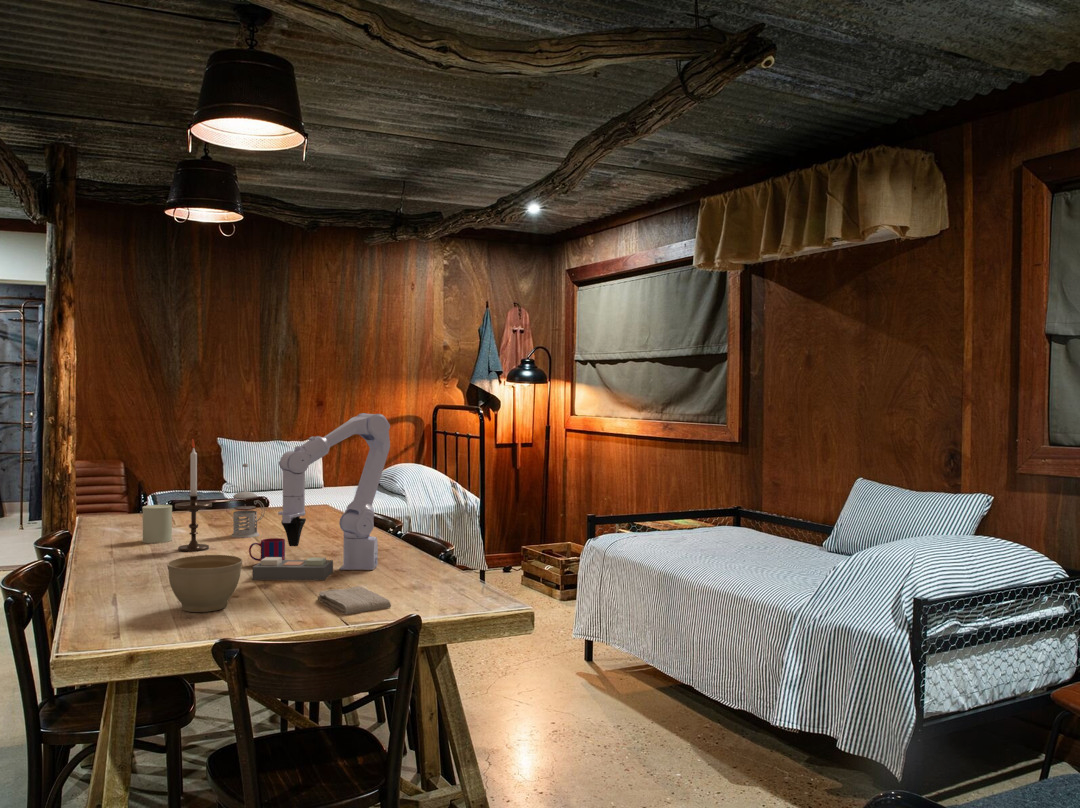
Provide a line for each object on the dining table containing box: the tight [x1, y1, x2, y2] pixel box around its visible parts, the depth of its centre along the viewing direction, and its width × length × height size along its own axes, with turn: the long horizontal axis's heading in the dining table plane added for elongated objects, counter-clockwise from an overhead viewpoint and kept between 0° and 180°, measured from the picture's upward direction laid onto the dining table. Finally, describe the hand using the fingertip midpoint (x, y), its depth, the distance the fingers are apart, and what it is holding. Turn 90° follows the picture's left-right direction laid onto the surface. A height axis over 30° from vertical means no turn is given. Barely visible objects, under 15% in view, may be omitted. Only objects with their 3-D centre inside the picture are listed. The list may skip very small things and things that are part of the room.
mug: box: [248, 537, 286, 562], centre depth 253 cm, size 7×10×7 cm
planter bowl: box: [166, 554, 243, 613], centre depth 201 cm, size 16×16×11 cm
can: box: [141, 503, 173, 544], centre depth 289 cm, size 9×9×12 cm
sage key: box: [305, 556, 327, 566], centre depth 236 cm, size 4×4×2 cm
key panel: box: [251, 559, 334, 581], centre depth 236 cm, size 19×10×3 cm, turn 90°
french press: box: [230, 463, 266, 539], centre depth 301 cm, size 10×12×25 cm
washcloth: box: [317, 585, 392, 615], centre depth 206 cm, size 12×18×3 cm, turn 37°
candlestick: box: [174, 438, 213, 553], centre depth 274 cm, size 11×11×35 cm
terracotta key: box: [283, 561, 304, 566], centre depth 236 cm, size 4×4×2 cm
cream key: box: [260, 557, 282, 565], centre depth 236 cm, size 4×4×2 cm
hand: (293, 545), depth 236 cm, fingers closed
